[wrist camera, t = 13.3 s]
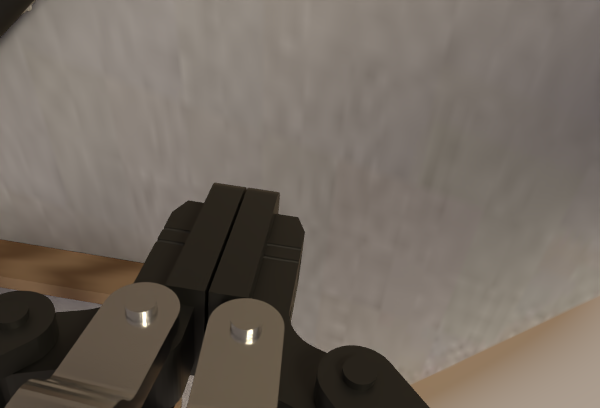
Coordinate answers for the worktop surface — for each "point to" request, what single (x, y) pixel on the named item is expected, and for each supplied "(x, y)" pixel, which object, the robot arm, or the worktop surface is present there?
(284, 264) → the robot arm
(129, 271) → the box
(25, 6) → the door handle
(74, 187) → the worktop surface
